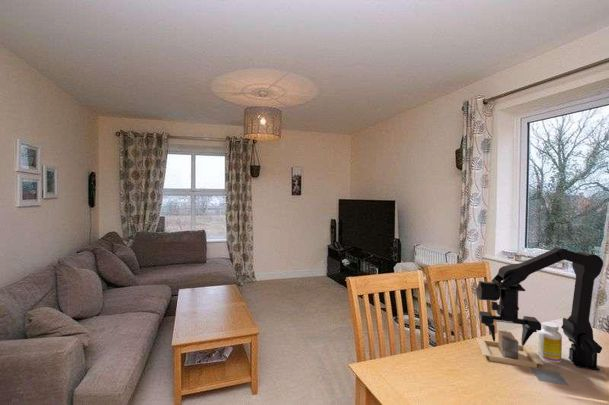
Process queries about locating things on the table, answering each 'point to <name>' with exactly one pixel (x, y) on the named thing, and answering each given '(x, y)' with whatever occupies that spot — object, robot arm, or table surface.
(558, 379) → the coaster
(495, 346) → the tray
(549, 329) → the supplement bottle
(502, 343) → the box
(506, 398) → the table surface
